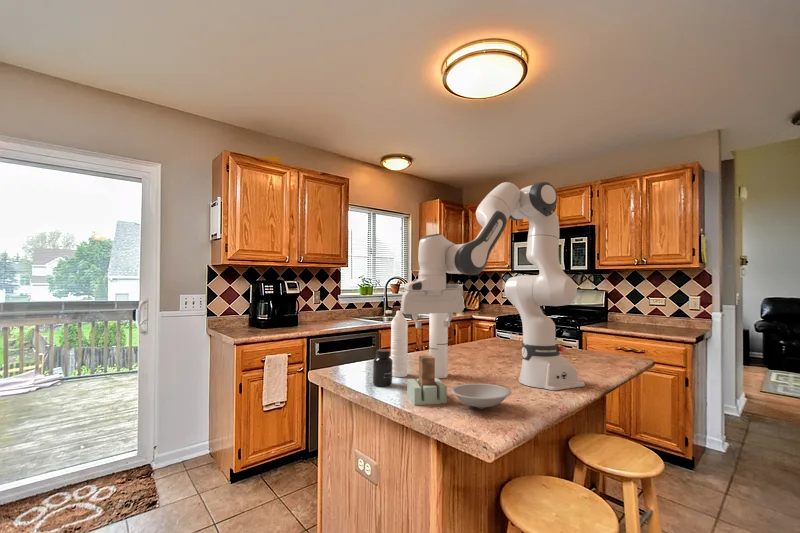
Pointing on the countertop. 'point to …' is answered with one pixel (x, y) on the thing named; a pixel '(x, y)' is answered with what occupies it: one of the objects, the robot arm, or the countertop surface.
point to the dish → (481, 394)
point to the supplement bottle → (382, 368)
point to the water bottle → (399, 344)
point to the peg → (426, 371)
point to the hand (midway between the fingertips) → (432, 327)
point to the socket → (427, 392)
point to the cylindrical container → (439, 343)
